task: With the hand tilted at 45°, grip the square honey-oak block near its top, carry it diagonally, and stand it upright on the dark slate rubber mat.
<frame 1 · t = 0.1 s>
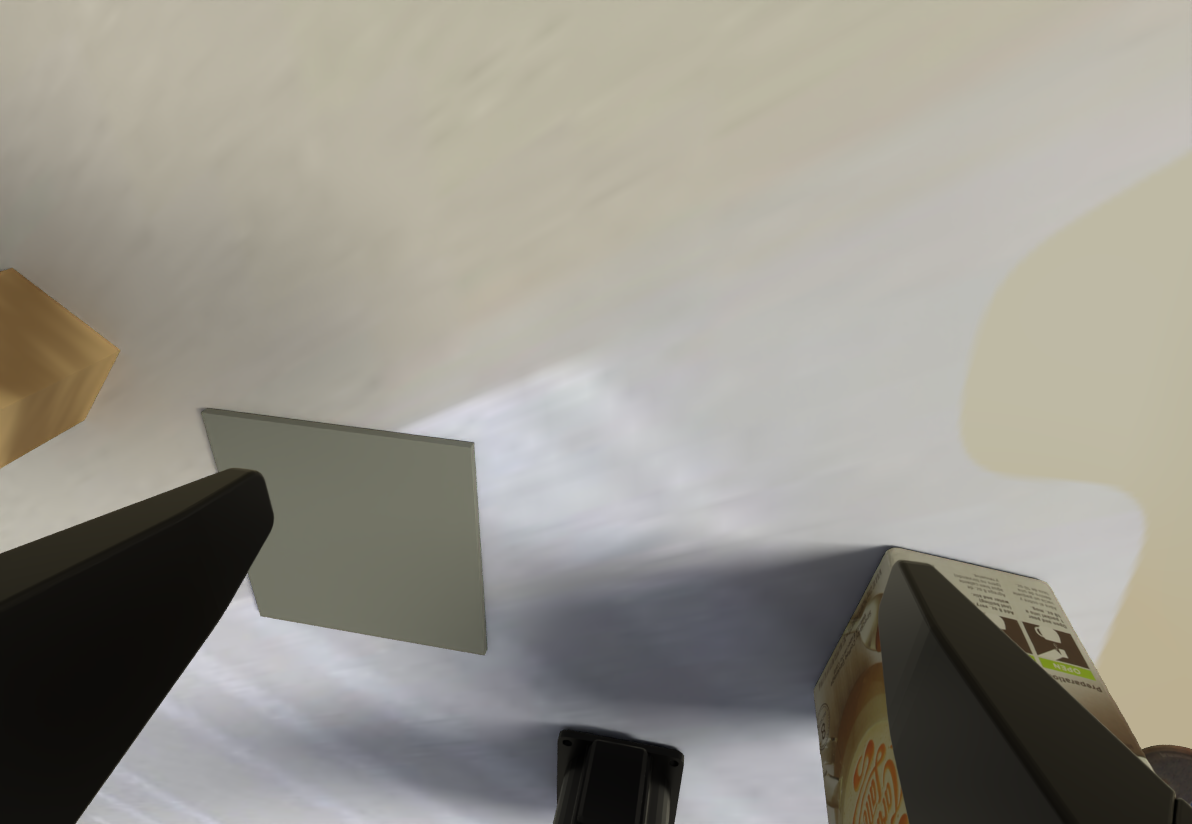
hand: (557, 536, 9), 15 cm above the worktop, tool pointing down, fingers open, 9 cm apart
slate mat: (356, 536, 31), on the worktop
tin: (1110, 808, 31), on the worktop
coffee box: (917, 637, 28), on the worktop
oak block: (50, 348, 29), on the worktop
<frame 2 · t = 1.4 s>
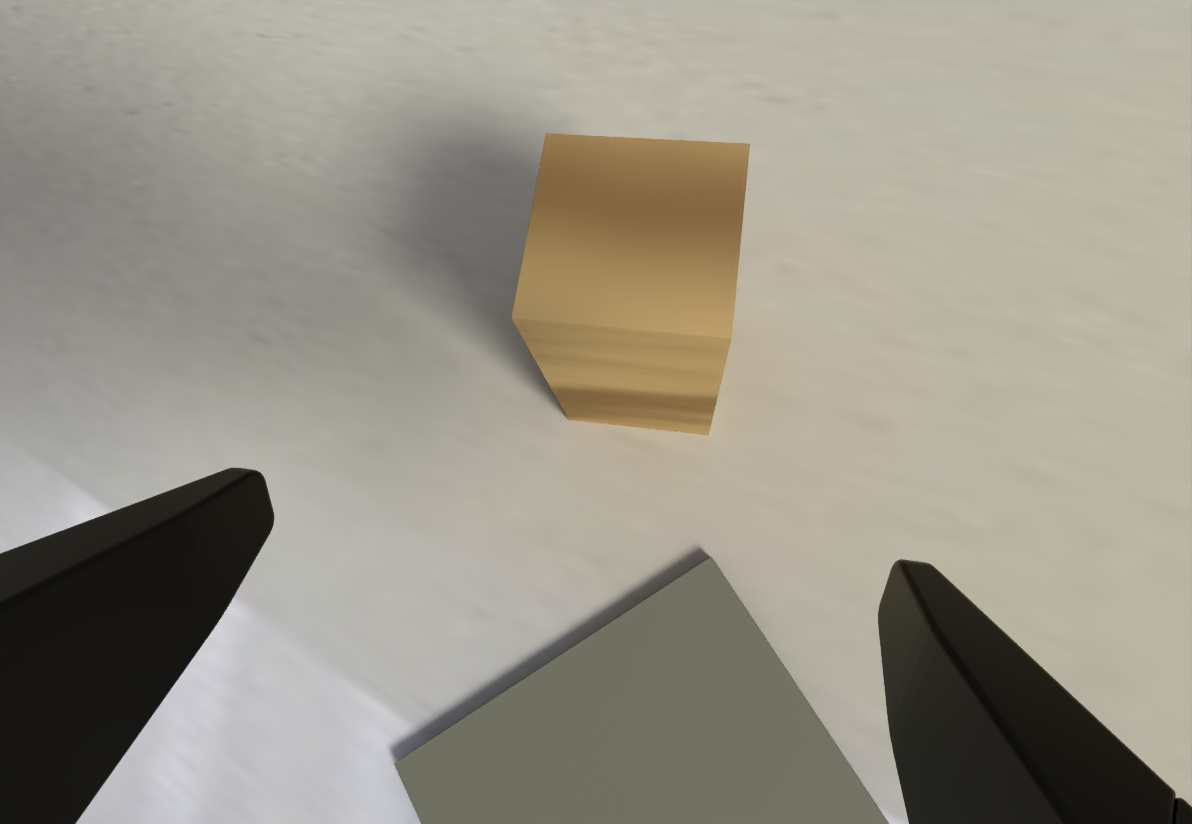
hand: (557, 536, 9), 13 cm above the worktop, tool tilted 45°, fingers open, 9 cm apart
oak block: (646, 361, 24), on the worktop
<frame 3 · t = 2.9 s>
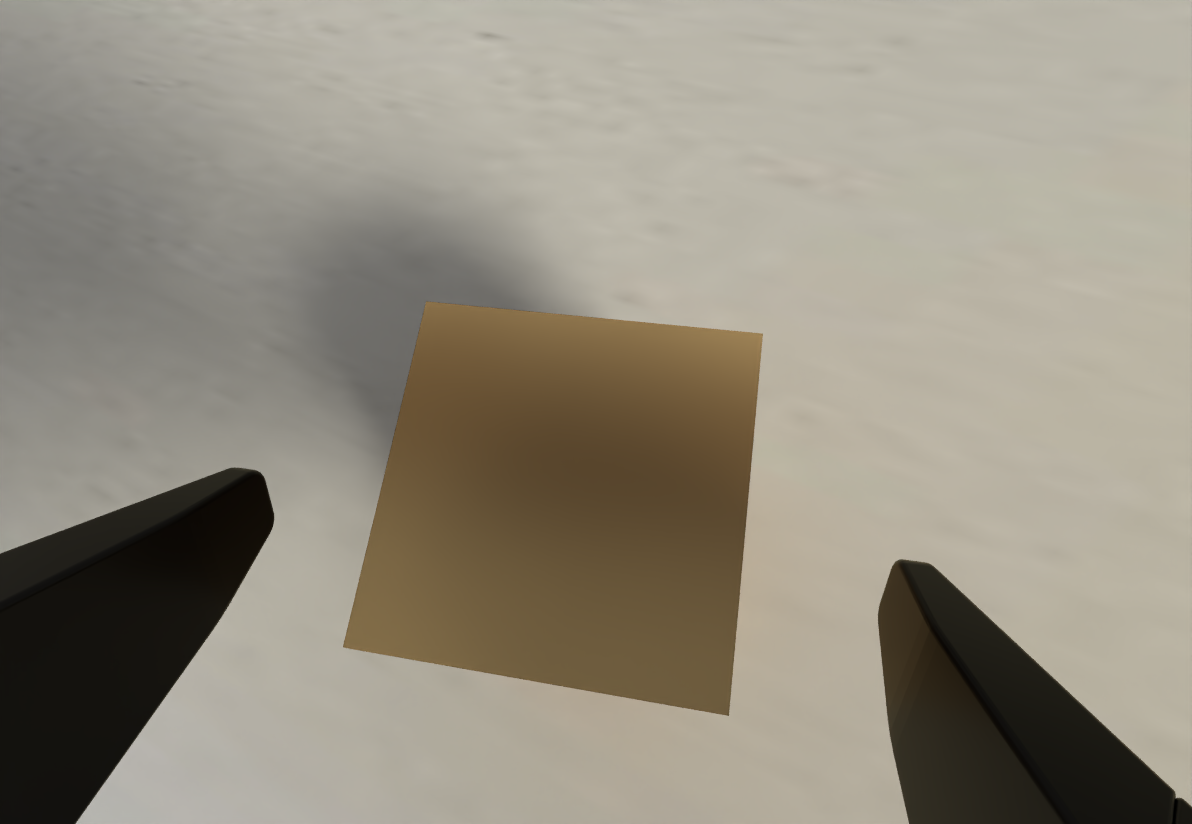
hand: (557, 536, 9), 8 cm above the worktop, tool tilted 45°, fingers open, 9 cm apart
oak block: (613, 546, 18), on the worktop
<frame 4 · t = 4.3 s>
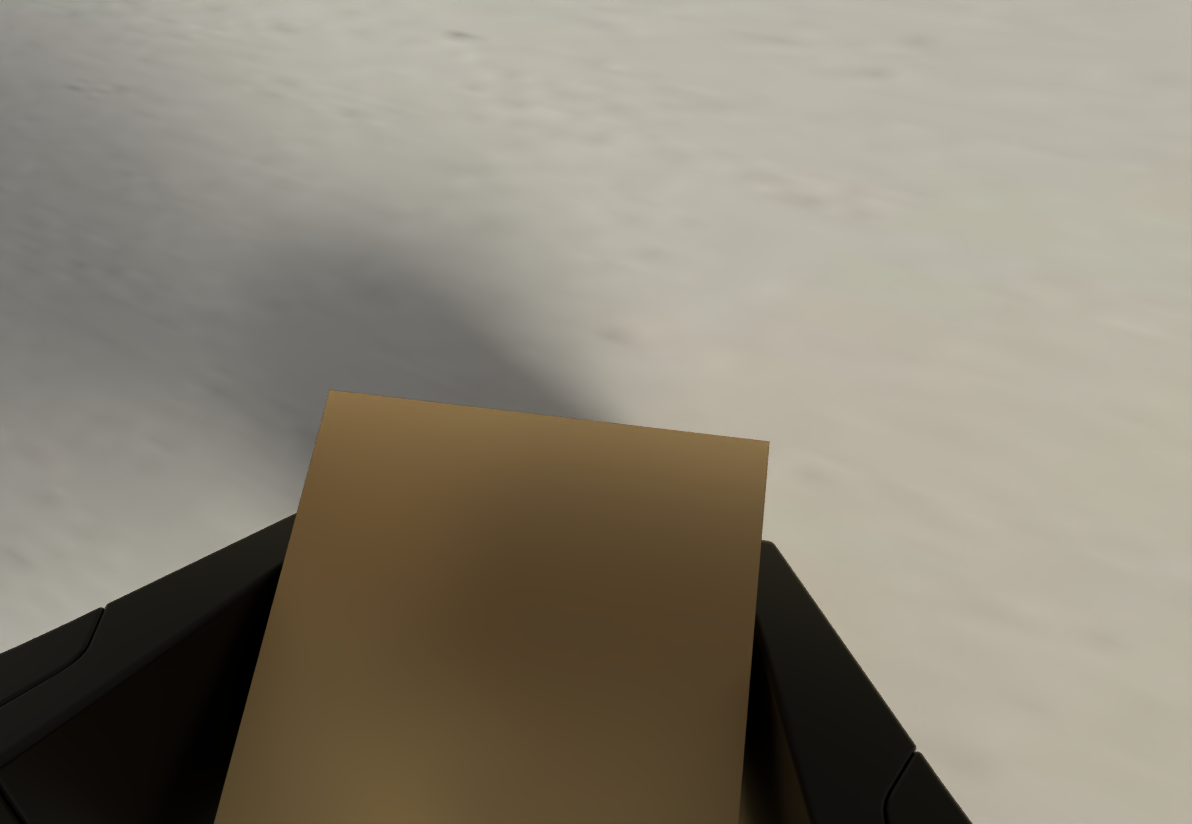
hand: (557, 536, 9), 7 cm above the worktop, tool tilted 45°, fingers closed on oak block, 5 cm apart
oak block: (593, 625, 15), on the worktop, touching gripper
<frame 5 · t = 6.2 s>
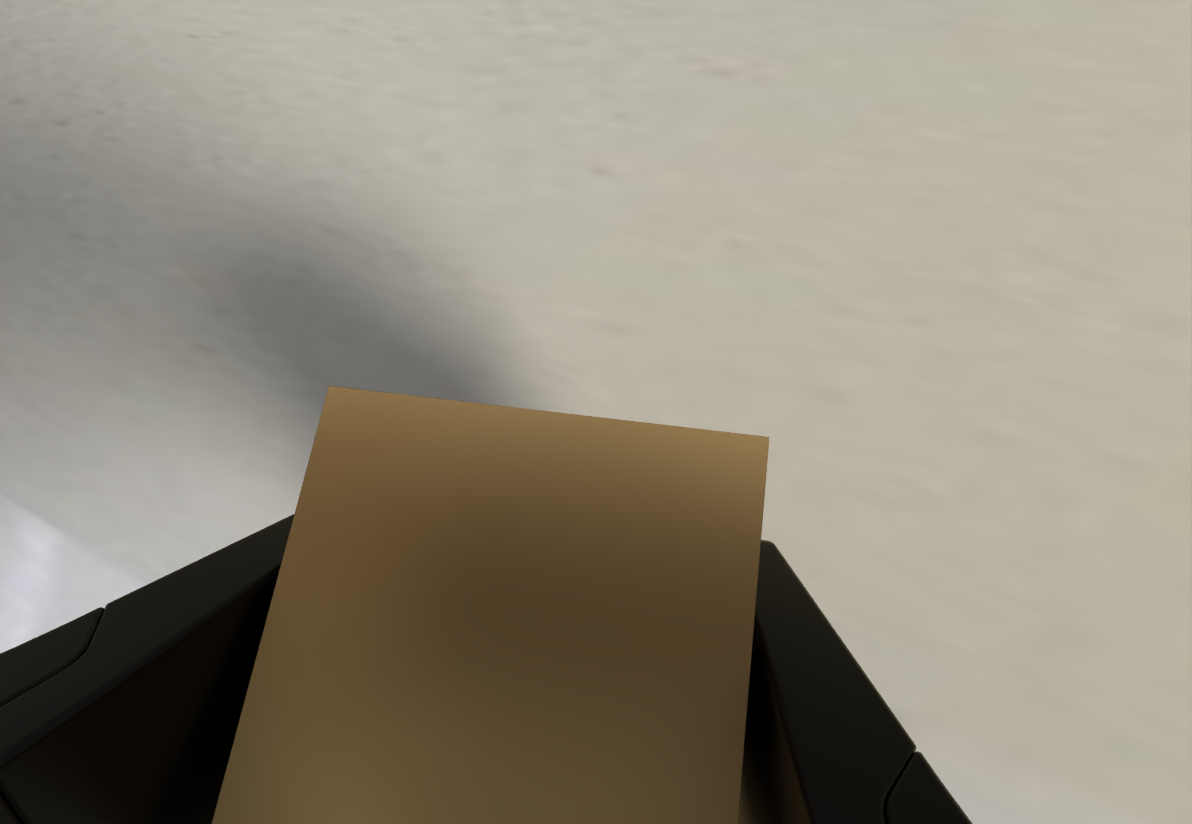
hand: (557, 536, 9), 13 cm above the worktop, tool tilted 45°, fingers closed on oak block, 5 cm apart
oak block: (593, 623, 15), point 6 cm above the worktop, touching gripper
when the fingers open (8 cm above the worktop, at t = 8.4 s): oak block stays where it is, resting on slate mat.
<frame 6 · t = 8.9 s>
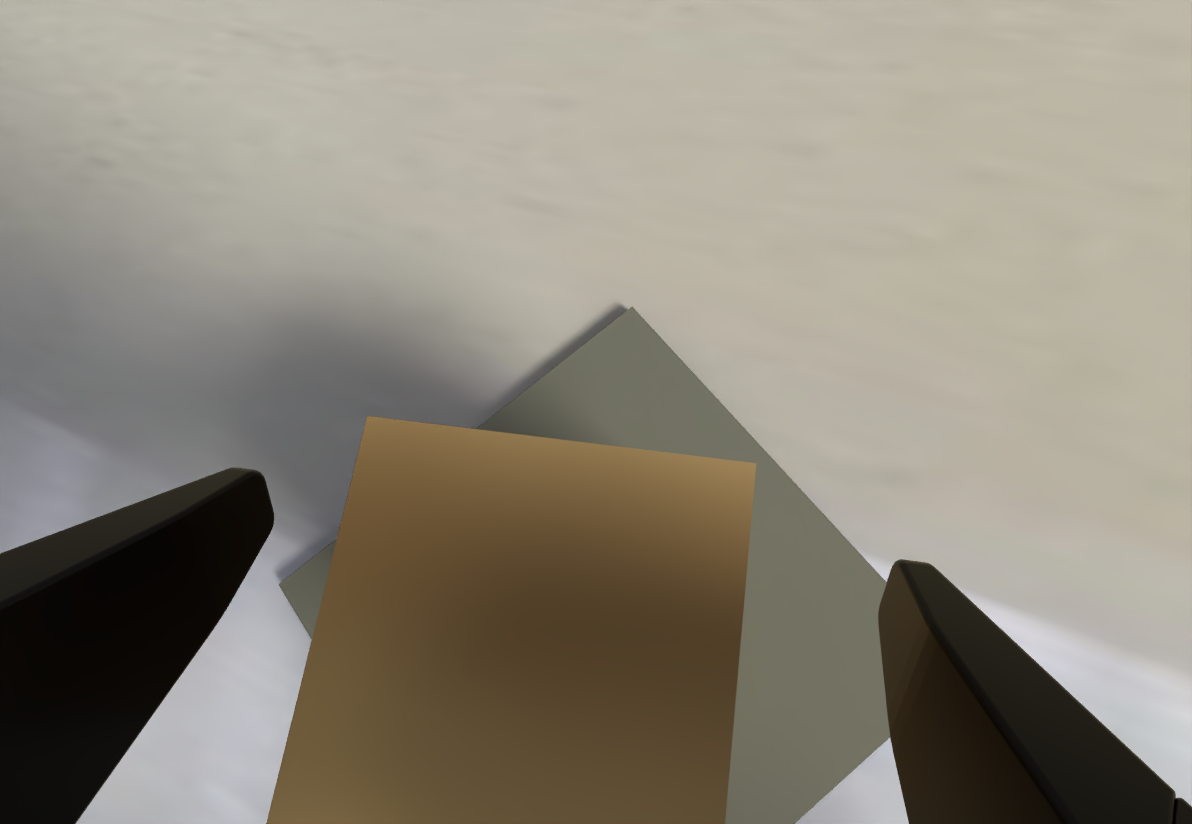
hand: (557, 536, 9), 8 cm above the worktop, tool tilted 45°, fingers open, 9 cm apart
slate mat: (600, 622, 17), on the worktop
oak block: (598, 624, 16), resting on slate mat
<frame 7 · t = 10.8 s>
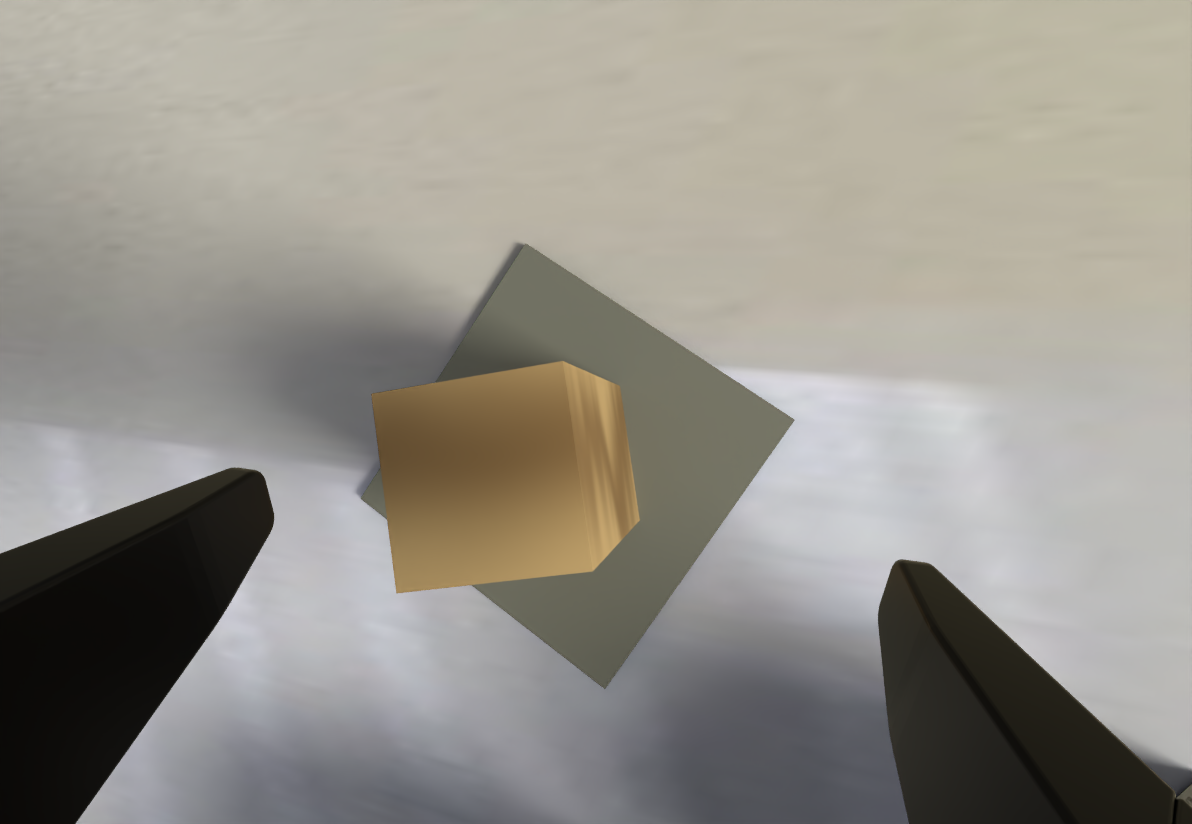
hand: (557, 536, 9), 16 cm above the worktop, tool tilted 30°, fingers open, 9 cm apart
slate mat: (566, 461, 25), on the worktop
oak block: (564, 462, 25), resting on slate mat
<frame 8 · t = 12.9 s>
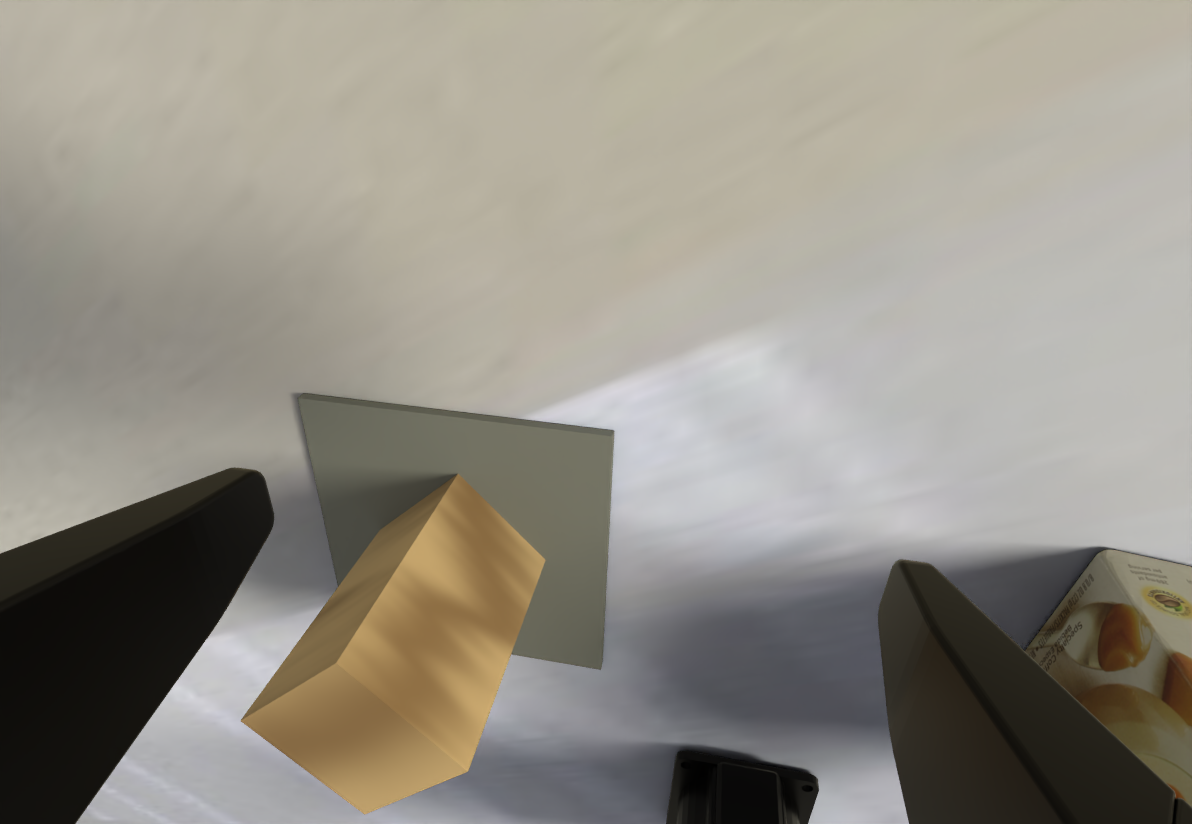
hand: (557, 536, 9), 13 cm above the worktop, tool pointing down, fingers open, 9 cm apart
slate mat: (464, 538, 27), on the worktop
coffee box: (1114, 650, 25), on the worktop
oak block: (461, 544, 27), resting on slate mat
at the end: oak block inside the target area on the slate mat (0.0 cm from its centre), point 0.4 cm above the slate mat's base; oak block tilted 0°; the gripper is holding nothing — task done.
